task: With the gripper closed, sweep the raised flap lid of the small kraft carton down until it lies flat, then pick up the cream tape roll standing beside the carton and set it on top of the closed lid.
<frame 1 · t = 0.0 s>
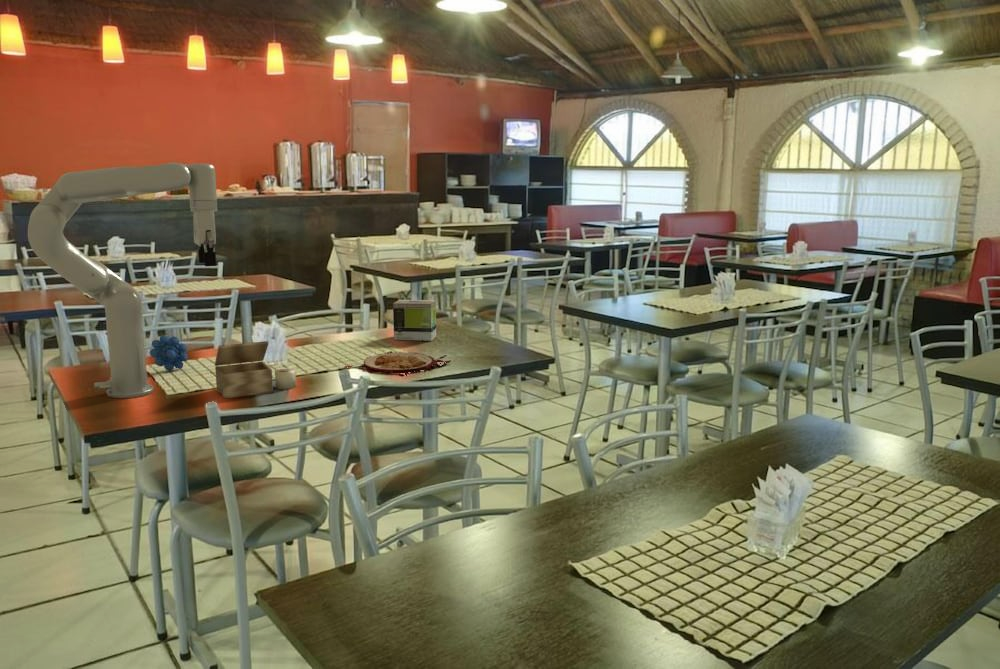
hand: (207, 264, 244), 37 cm above the table, tool pointing down, fingers open, 9 cm apart
plate with food: (397, 368, 275), on the table
tea box: (415, 338, 319), on the table
carton: (244, 390, 243), on the table
blue flower: (171, 371, 265), on the table
lid: (241, 353, 242), point 11 cm above the table, hinge at 40.0°
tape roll: (285, 386, 248), on the table
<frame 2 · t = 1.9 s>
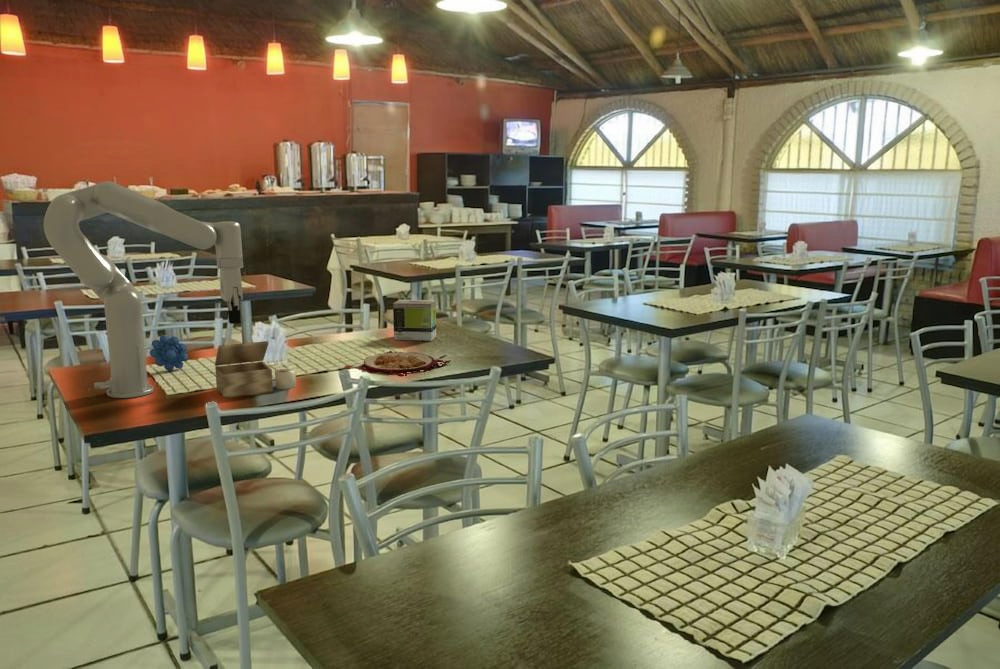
hand: (234, 322, 249), 19 cm above the table, tool pointing down, fingers closed
nothing on the table moved.
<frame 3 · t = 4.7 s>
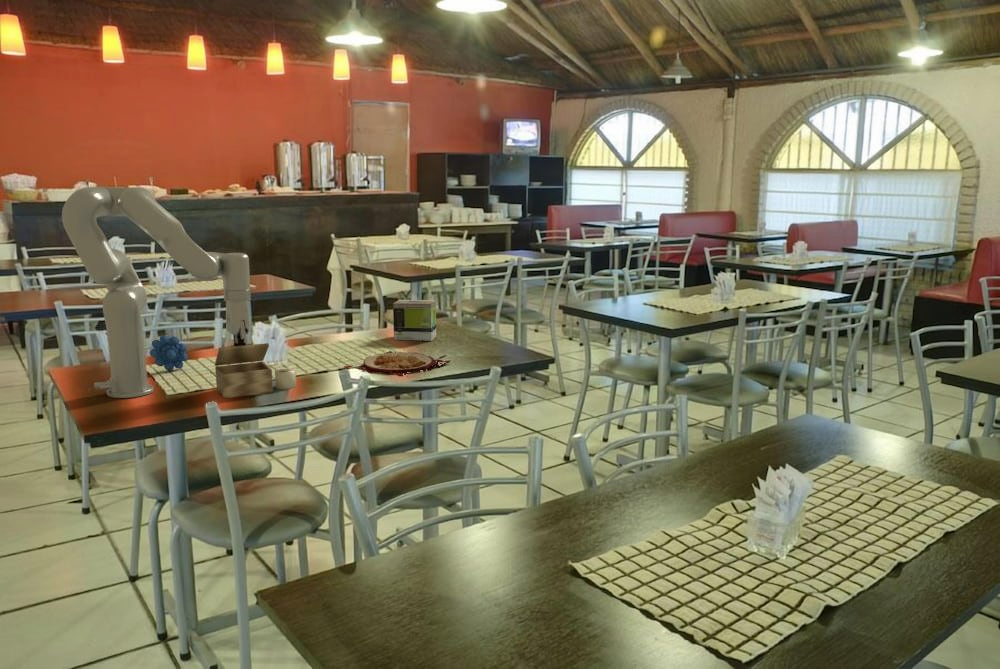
hand: (240, 355, 244), 10 cm above the table, tool pointing down, fingers closed
lid: (241, 354, 242), point 11 cm above the table, hinge at 36.2°, touching gripper
everything else where it was.
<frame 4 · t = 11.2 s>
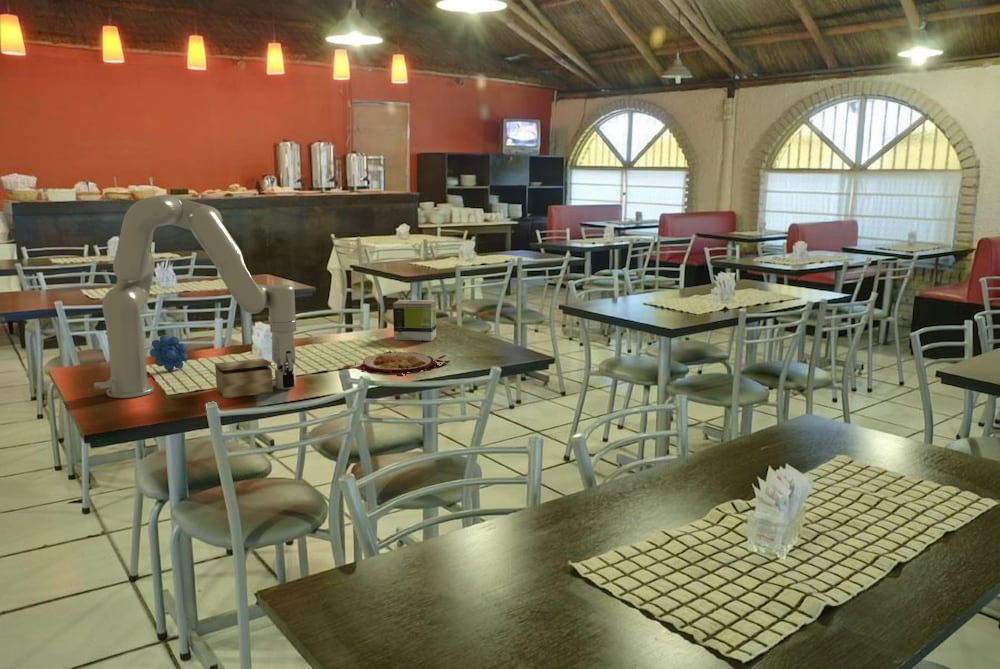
hand: (285, 384, 248), 1 cm above the table, tool pointing down, fingers closed on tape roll, 5 cm apart
lid: (243, 364, 241), point 8 cm above the table, hinge at 5.5°
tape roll: (285, 386, 248), on the table, touching gripper
everything else where it was.
when the fingers open (10 cm above the table, at t = 14.8 s): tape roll stays where it is, resting on lid.
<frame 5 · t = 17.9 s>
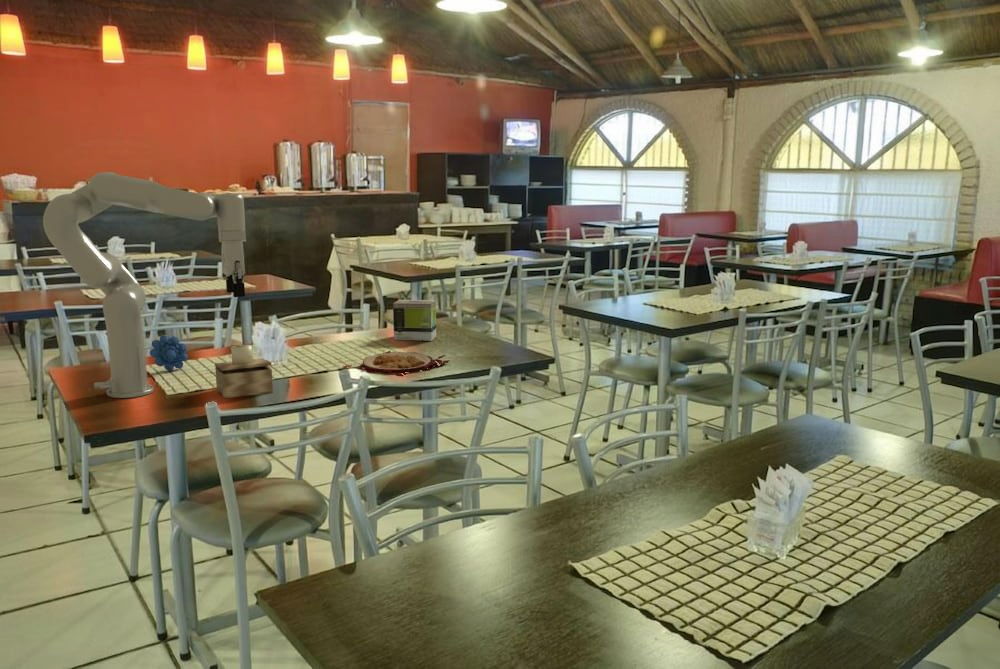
hand: (235, 294, 242), 28 cm above the table, tool pointing down, fingers open, 9 cm apart
lid: (243, 364, 241), point 8 cm above the table, hinge at 5.5°, touching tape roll
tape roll: (242, 362, 241), point 9 cm above the table, tilted 6°, touching lid
everything else where it was.
at the end: lid at +6° (first picture: +40°); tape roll inside the target area on the carton (0.0 cm from its centre), point 8.5 cm above the carton's base; the gripper is holding nothing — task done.
